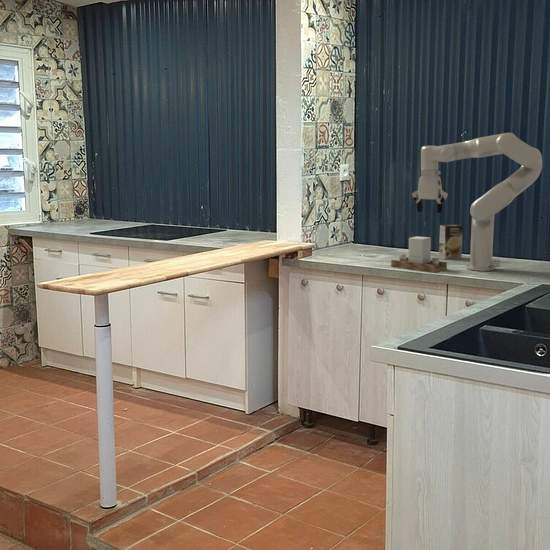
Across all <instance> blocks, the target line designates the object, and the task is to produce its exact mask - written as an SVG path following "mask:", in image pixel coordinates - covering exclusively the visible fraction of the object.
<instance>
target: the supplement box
mask: <svg viewBox="0 0 550 550" xmlns="http://www.w3.org/2000/svg"><path fill="white" fill-rule="evenodd" d="M431 241H432V238H431V237H429V236H427V237H426V236H418V235H417V236H412V237H408V258H409V262H414V263H422V264H424V263H428V262H430V260H431V256H432V255H431V245H432V242H431Z"/></svg>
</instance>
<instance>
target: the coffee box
mask: <svg viewBox="0 0 550 550" xmlns="http://www.w3.org/2000/svg"><path fill="white" fill-rule="evenodd" d="M463 233H464V226H463V225H461V224H440V225H439V241H438V242H439V243H438V244H439V245H438V258H439V259H441V260H461V259H462V255H463V254H462V252H463V251H462V250H463Z"/></svg>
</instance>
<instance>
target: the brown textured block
mask: <svg viewBox="0 0 550 550" xmlns="http://www.w3.org/2000/svg"><path fill="white" fill-rule="evenodd" d="M390 261H391V262H390V264H391V265H390V267H391V268H395V267H397V269H402V268H403V270H404V269H405V270H413V271H417V272H418V271H419V272H427V273H437V272H441V271H445V270H447V267H448V261H442V260H441V261H440V258H439V257H433V258H432V259H430V262H428V263H424V264H422V263H414V262H409V256H408V257H407V254H404V253H401V254H399V259H398V260H397V259H391V260H390Z"/></svg>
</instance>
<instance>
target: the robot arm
mask: <svg viewBox="0 0 550 550" xmlns="http://www.w3.org/2000/svg"><path fill="white" fill-rule="evenodd" d="M502 154H503V155H504V156H506V157H508V159H511V160H512V161H514V162H515V163H517V164H519V165H520V167H519V169H517V170H516V171H515V172H513V173H512V174H511V175H510V176H508V177H507V178H506V179H504V180H503V181H501V182H499V183H497V184H496V185H494V186H493V187H492V188H491V189H489V190H488V191H487V192H485V193H484V194H483V195H481V196H480V197H478V198H476V200H473V202H472V203H471V204H470V205H471V206H470V209H469V213H470V216H471V230H470V249H469V250H470V251H469V252H470V253H469V256H470V257H469V264H467V265H466V266H465V268H466V270H470V271H477V272H490V271H495V270H496V268H500V266H501V262H499V261H495V258H493V254H494V253H493V251H494V247H493V245H494V229H495V215H497V214H498V213H499V212H500V211H502V210H504V208H505V207H507V206H508V205H510V204H511V203H512V201H513V200H514V199H515V198H516V197H517V196H519V195H520V194H521V193H523V192H524V191H525V190H527V189H528V188H529V187H530V186H531V185H532V184H533V183H535V182H536V180H538V178H539V176H540V175H541V173H542V169H543V156H542V153H541V152H540V149H538V148H536V147H532V146H531V145H529V144H528V143H526V142H524V141H523V140H522V139H520V138H519V137H517V136H516V135H515V134H514V133H512V132H503V133H499V134H492V135H487V136H483V137H477V138H473V139H470V140H468V141H467V140H465V141H462V142H454V143H450V144H448V143H447V144H443V145H438V146H437V145H423V146H422V147H421V148H420V177H419V179H418V180H419V181H418V184H417V185H418V187H417V190H415V191H413V192H412V193H411V196H412V198H413V200H414V201H415V203H416V210H417V213H422V212H423V203H422V202H423V200H435V201H436V202H437V204H436V213H437V214H439V213H443V204H444V203H445V201H446V200H447V197H448V195H449V193H448V192H445V191H444V190H443V188H442V185H443V184H442V180H441V176H439V175H441V174H442V172H441V171H439V163H440V162H441V163H449V162H454V161H459V160H460V161H461V160H464V159H471V158H472V159H474V158H477V159H478V158H486V157H492V156H498V155H502Z"/></svg>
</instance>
